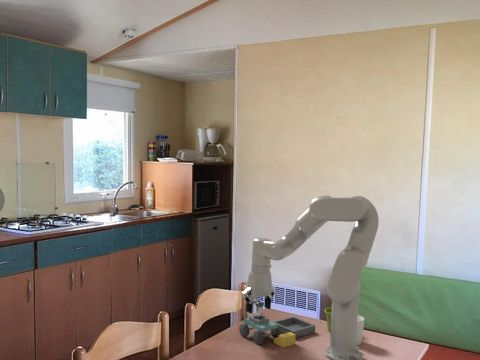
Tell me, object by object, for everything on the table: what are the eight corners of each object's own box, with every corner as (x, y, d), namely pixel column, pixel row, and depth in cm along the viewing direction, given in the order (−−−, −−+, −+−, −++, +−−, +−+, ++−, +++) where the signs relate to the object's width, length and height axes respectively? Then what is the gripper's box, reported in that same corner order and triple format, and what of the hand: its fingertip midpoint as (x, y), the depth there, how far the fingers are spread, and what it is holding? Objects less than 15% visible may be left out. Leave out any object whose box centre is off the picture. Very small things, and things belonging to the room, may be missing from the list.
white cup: (339, 339, 183) (340, 315, 183) (354, 337, 187) (355, 313, 186) (351, 347, 176) (352, 322, 176) (367, 344, 179) (368, 319, 179)
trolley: (281, 340, 180) (282, 307, 179) (261, 346, 174) (262, 311, 173) (258, 329, 191) (259, 298, 190) (239, 334, 185) (240, 302, 184)
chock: (295, 344, 177) (295, 334, 177) (283, 348, 173) (283, 338, 173) (285, 339, 182) (286, 330, 182) (273, 343, 178) (274, 333, 178)
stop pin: (265, 321, 182) (265, 303, 182) (258, 323, 180) (259, 304, 180) (259, 318, 185) (260, 300, 185) (252, 320, 183) (253, 302, 183)
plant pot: (319, 330, 193) (320, 310, 192) (331, 325, 199) (332, 305, 199) (338, 336, 186) (339, 316, 186) (350, 331, 193) (351, 311, 192)
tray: (315, 332, 190) (315, 325, 190) (293, 338, 182) (293, 331, 182) (293, 322, 200) (293, 316, 200) (271, 328, 192) (271, 321, 192)
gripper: (270, 264, 190) (268, 304, 191) (238, 269, 180) (236, 311, 180) (282, 268, 184) (280, 309, 185) (250, 273, 174) (247, 316, 174)
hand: (258, 310), depth 183 cm, fingers open, 9 cm apart
